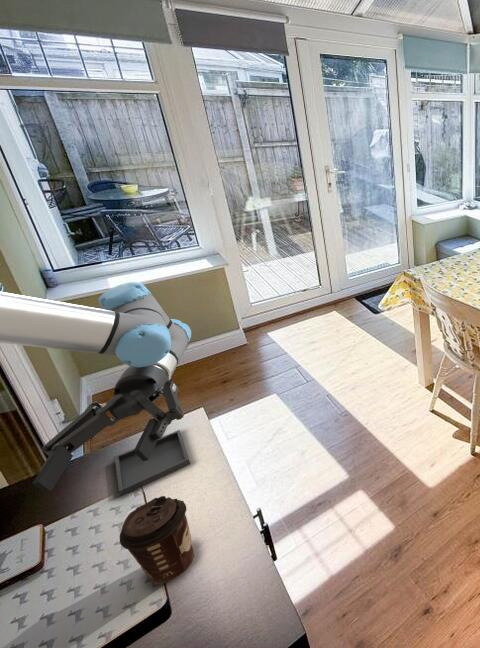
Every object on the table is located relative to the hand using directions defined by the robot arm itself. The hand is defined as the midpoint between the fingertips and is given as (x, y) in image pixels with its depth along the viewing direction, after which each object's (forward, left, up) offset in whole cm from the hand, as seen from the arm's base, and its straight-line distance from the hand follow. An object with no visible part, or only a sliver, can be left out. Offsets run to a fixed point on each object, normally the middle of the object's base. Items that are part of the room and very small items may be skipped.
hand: (92, 471), depth 65 cm
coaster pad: (-7, +23, -22) cm, 32 cm away
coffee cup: (+7, -2, -22) cm, 23 cm away
